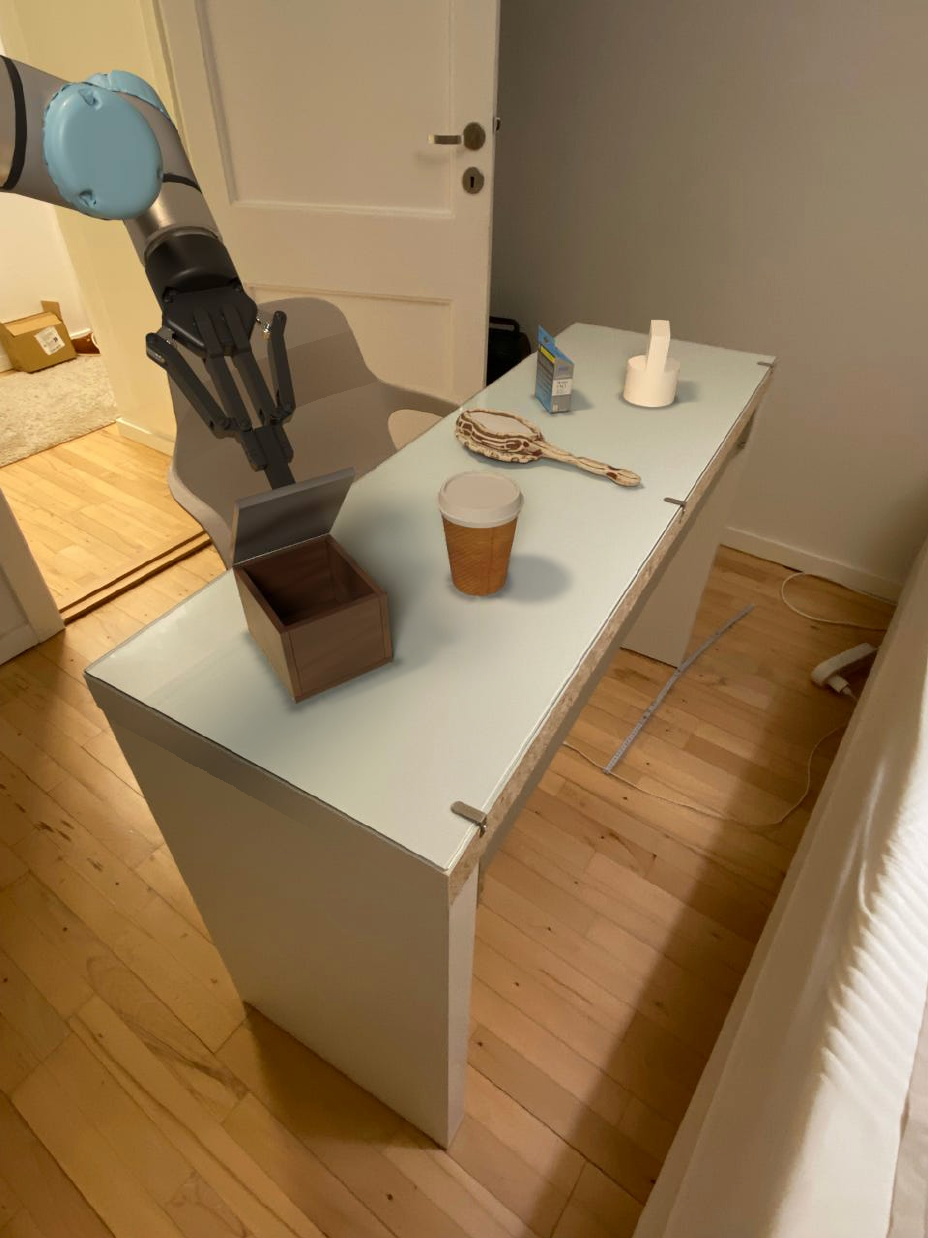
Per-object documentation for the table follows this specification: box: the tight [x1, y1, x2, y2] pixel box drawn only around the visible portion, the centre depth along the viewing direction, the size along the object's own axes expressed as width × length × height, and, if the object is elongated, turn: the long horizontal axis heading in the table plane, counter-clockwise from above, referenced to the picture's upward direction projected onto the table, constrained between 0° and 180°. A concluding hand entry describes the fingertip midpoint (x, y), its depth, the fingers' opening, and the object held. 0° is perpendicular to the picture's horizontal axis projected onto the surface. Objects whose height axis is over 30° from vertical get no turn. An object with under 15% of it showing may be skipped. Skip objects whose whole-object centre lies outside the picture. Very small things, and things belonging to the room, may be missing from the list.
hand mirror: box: [453, 406, 642, 487], centre depth 101 cm, size 11×6×30 cm
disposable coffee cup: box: [435, 469, 525, 596], centre depth 77 cm, size 10×10×12 cm
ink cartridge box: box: [534, 324, 575, 414], centre depth 117 cm, size 9×4×12 cm, turn 13°
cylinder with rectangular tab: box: [622, 319, 682, 408], centre depth 119 cm, size 9×9×12 cm
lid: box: [228, 466, 357, 566], centre depth 63 cm, size 14×11×1 cm
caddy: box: [231, 533, 394, 704], centre depth 69 cm, size 13×11×9 cm
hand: (289, 498), depth 61 cm, fingers closed
